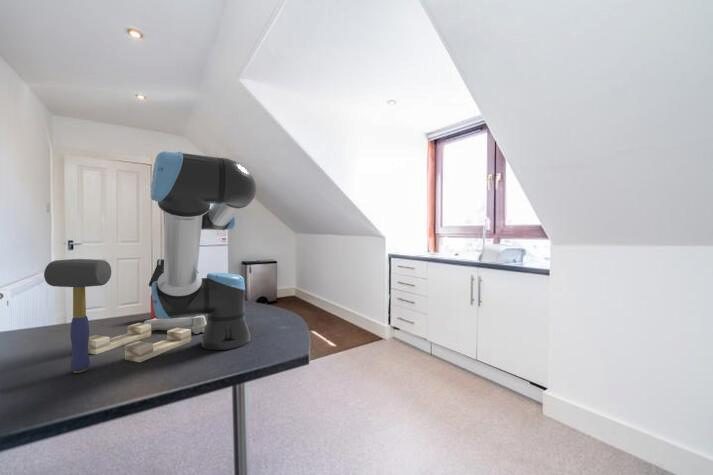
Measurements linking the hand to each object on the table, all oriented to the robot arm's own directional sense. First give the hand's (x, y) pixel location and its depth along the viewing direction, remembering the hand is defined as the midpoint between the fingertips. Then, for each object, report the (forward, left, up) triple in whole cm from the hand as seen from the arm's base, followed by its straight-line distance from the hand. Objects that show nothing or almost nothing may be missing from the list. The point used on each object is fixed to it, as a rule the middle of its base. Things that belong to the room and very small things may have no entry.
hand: (176, 301), depth 117 cm
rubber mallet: (-5, +34, -11) cm, 36 cm away
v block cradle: (-2, +16, -11) cm, 20 cm away
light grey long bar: (0, 0, -12) cm, 12 cm away
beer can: (+20, -10, -11) cm, 25 cm away
